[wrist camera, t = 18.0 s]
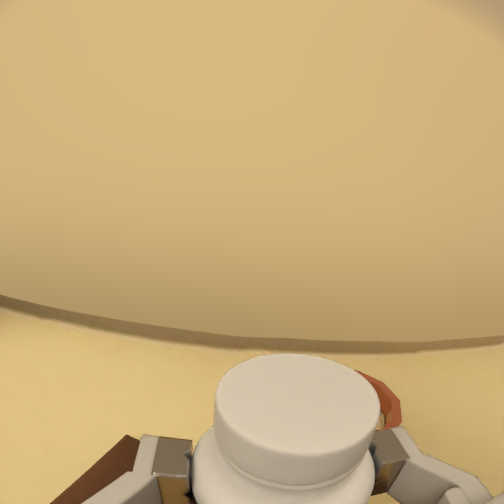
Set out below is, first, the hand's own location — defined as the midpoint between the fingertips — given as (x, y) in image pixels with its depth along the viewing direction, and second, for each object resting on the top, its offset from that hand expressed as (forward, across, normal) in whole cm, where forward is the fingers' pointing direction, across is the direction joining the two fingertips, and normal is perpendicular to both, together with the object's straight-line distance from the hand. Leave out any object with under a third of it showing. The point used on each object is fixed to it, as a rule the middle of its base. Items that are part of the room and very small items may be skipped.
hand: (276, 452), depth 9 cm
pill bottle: (-1, 0, +7) cm, 7 cm away
